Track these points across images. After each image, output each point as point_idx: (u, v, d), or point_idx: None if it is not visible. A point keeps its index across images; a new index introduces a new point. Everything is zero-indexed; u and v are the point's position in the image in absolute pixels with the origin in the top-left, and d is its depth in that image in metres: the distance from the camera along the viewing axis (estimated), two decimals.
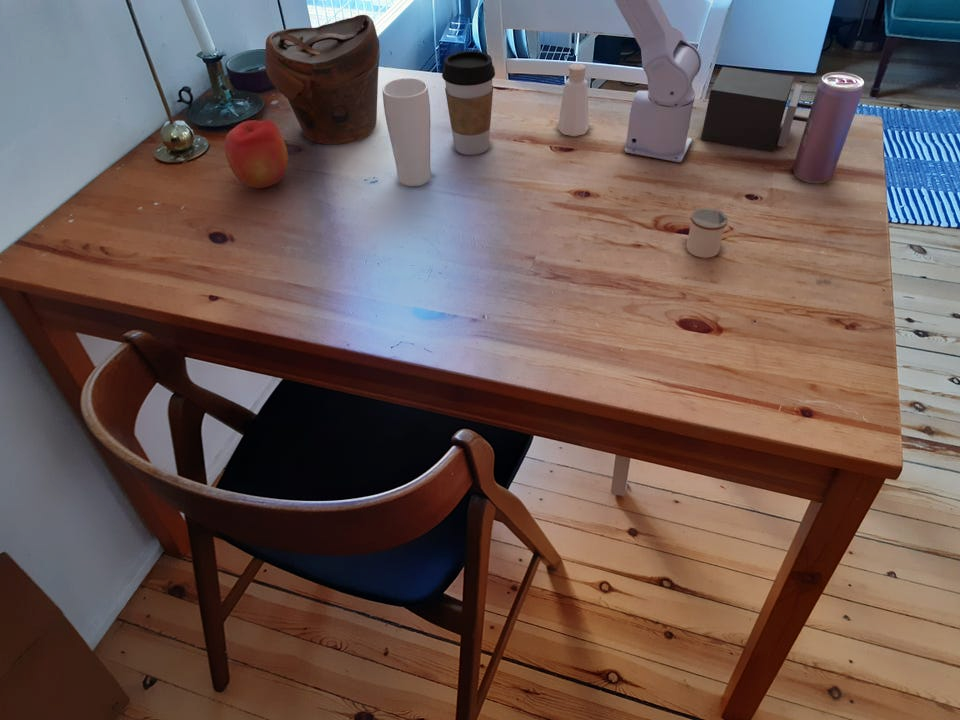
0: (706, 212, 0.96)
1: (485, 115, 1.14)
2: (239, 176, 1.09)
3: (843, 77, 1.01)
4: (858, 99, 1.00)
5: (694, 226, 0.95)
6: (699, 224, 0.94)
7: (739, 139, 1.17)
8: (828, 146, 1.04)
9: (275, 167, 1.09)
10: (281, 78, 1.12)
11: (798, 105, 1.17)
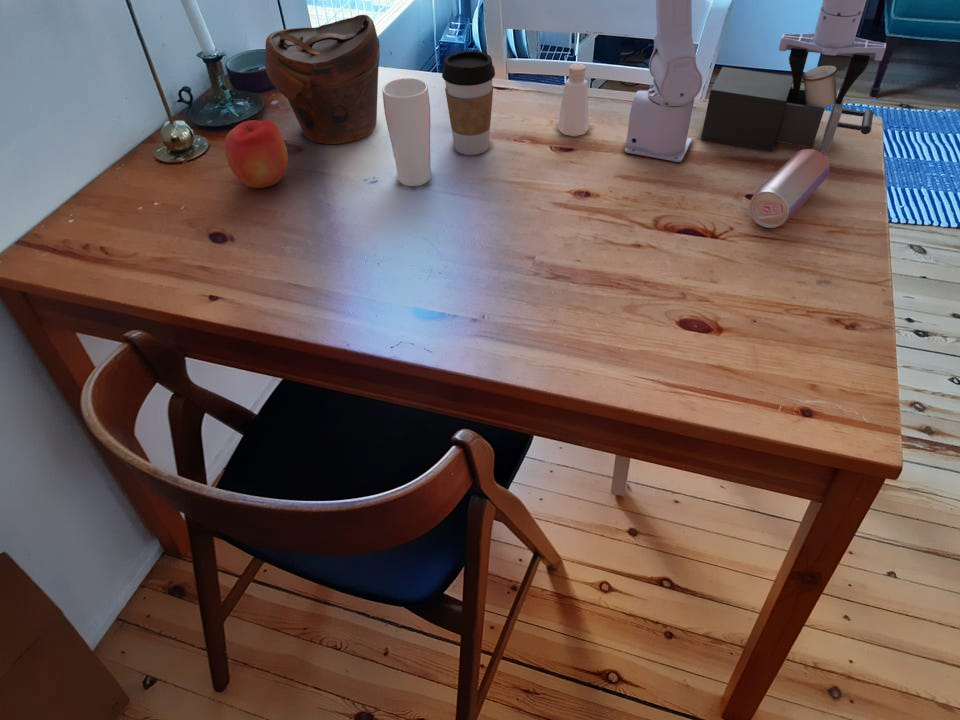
0: (815, 70, 1.11)
1: (485, 115, 1.14)
2: (239, 176, 1.09)
3: (769, 202, 0.98)
4: (792, 215, 0.99)
5: (807, 83, 1.10)
6: (811, 78, 1.09)
7: (739, 139, 1.17)
8: None
9: (275, 167, 1.09)
10: (281, 78, 1.12)
11: None
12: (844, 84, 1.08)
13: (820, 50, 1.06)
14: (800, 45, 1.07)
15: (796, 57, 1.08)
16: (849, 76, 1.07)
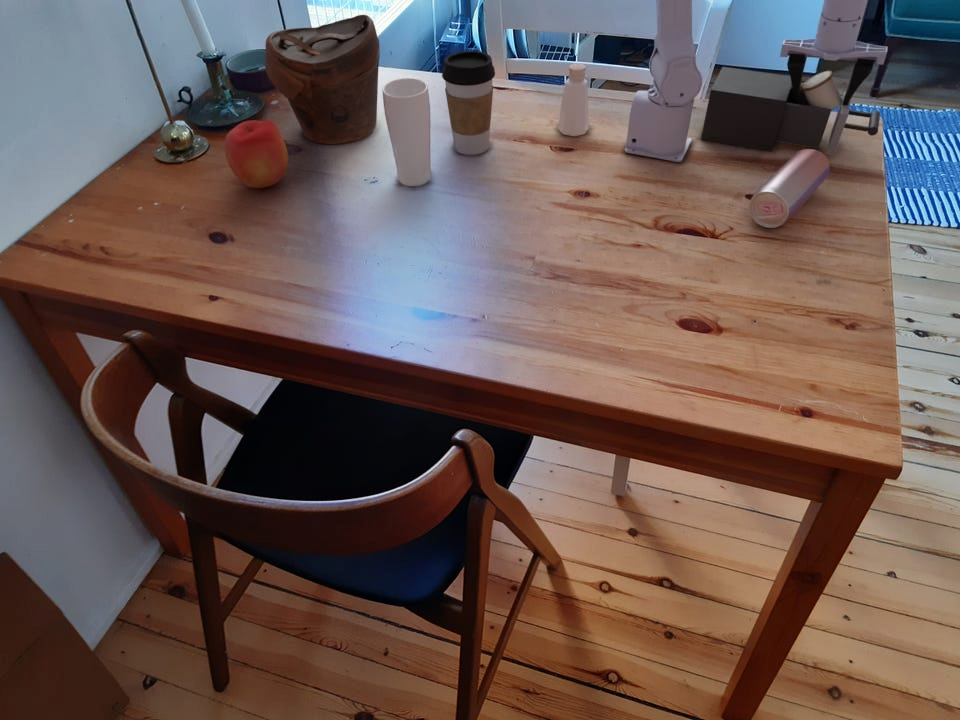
0: (812, 79, 1.12)
1: (485, 115, 1.14)
2: (239, 176, 1.09)
3: (769, 202, 0.98)
4: (792, 215, 0.99)
5: (806, 93, 1.11)
6: (808, 88, 1.10)
7: (739, 139, 1.17)
8: None
9: (275, 167, 1.09)
10: (281, 78, 1.12)
11: None
12: (849, 88, 1.08)
13: (821, 55, 1.06)
14: (801, 51, 1.08)
15: (794, 62, 1.09)
16: (854, 80, 1.07)
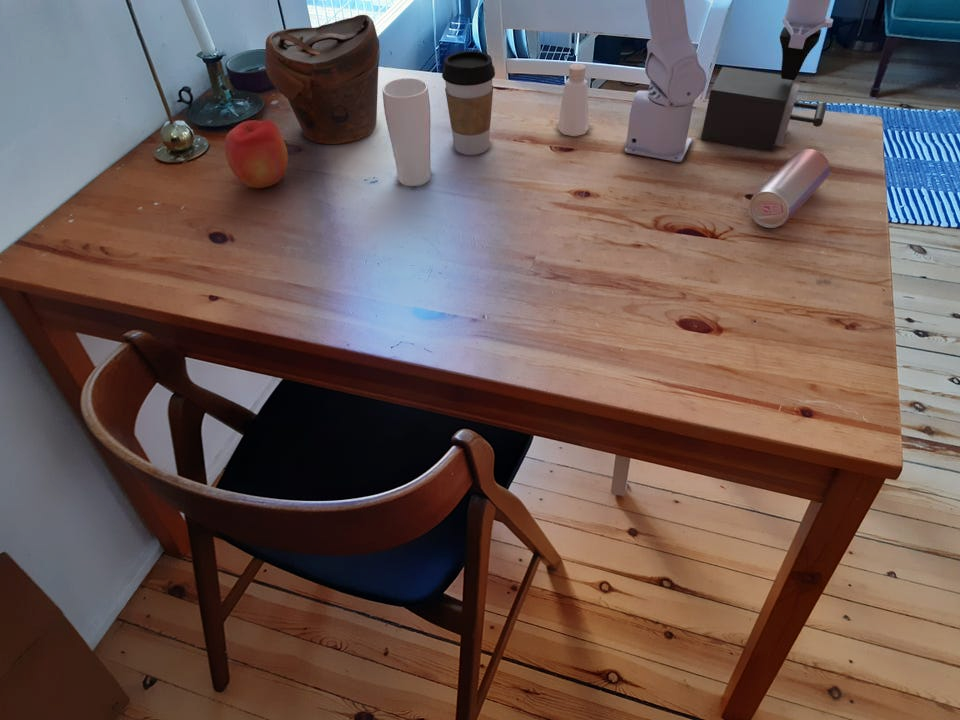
0: None
1: (485, 115, 1.14)
2: (239, 176, 1.09)
3: (769, 202, 0.98)
4: (792, 215, 0.99)
5: None
6: None
7: (739, 139, 1.17)
8: None
9: (275, 167, 1.09)
10: (281, 78, 1.12)
11: (795, 105, 1.17)
12: None
13: (822, 27, 1.06)
14: (812, 33, 1.05)
15: (811, 39, 1.08)
16: None
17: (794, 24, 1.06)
